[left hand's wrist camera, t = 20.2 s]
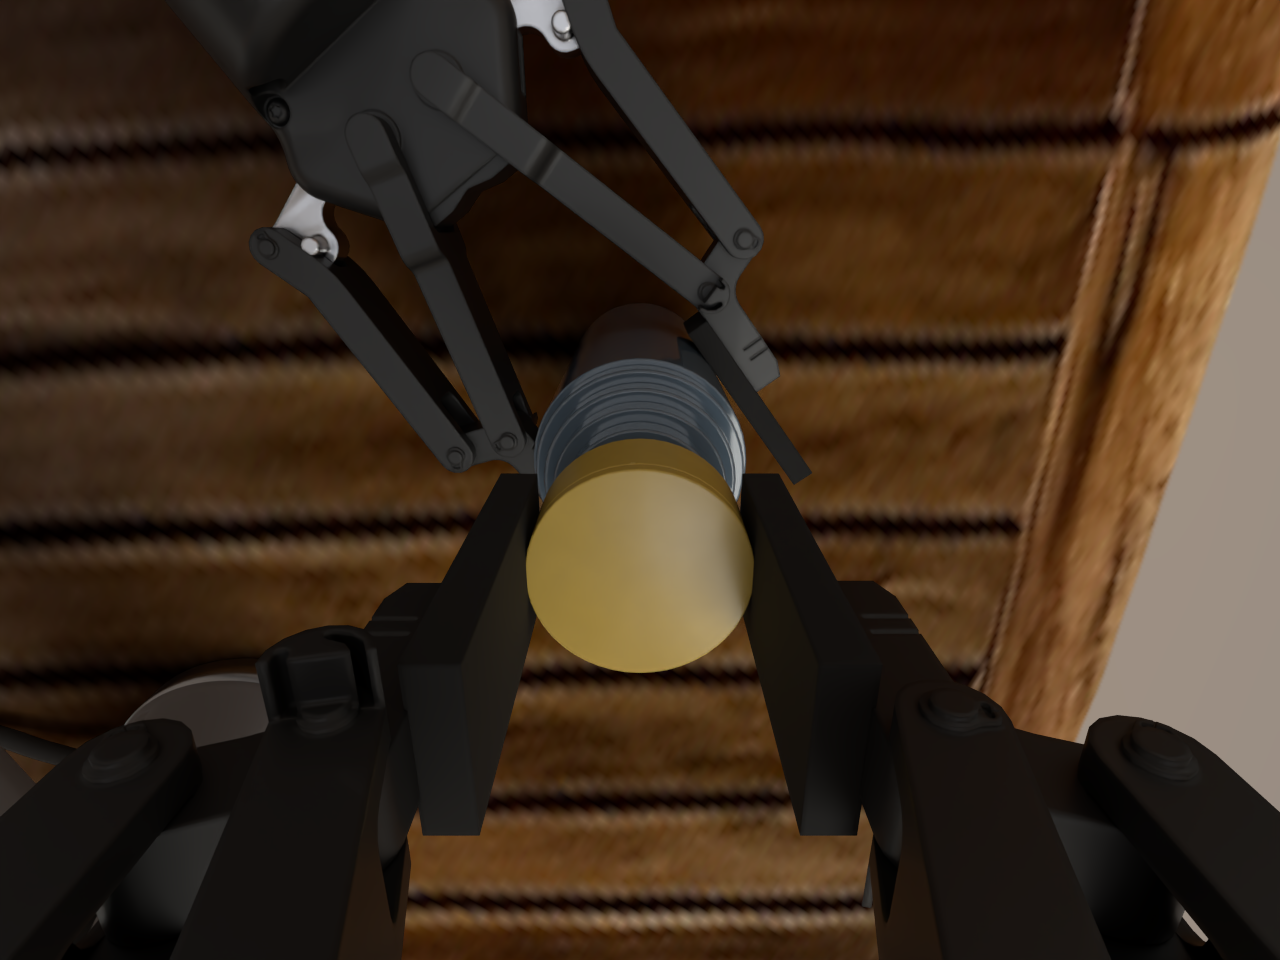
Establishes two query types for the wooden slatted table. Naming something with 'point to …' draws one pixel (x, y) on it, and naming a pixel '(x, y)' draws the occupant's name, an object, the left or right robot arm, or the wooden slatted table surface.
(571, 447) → the bottle
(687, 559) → the cap
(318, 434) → the wooden slatted table surface
